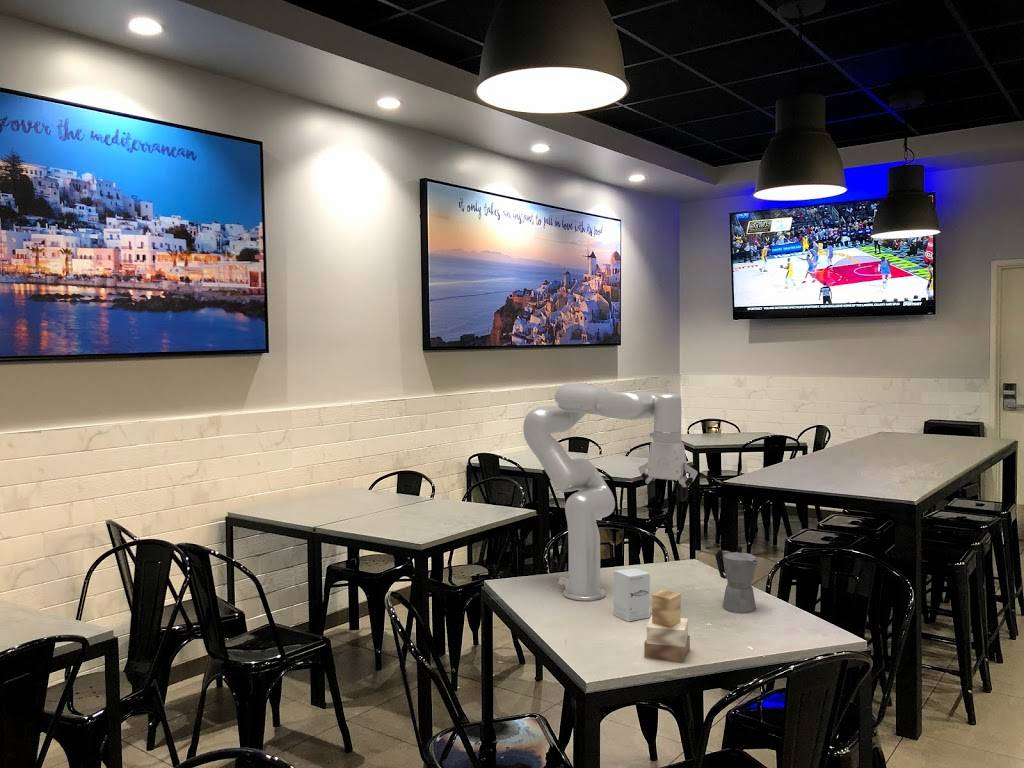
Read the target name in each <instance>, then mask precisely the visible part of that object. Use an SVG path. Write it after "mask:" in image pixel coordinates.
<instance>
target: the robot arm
mask: <svg viewBox="0 0 1024 768" xmlns="http://www.w3.org/2000/svg"><path fill="white" fill-rule="evenodd" d="M554 401H555V404H556V405H550V406H549V405H548V406H540V407H536V408H534V409H532V410H530V411H529V412H528V413H527V414H526V416H525V418H524V421H523V427H522V430H523V435H524V436H523V437H524V439H525V441H526V444H527V445H528V447H529V449H530V450H531V452H533V454H534V455H535V457H536V458H537V460H538V461H539V463H540V465H541V466H542V468H543V470H544V472H545V474H547V476H548V478H549V479H550V481H551V483H552V484H553V486H554V487H555V489H556V490H558V491H560V492H561V493H569V492H574V491H576V492H574V493H572V494H571V495H569V497H568V498H567V499H566V502H565V505H564V506H565V507H564V510H565V511H564V513H565V518H566V522H567V533H568V537H567V538H568V540H567V541H568V542H567V543H568V578H567V577H564V576H559V578H558V582H557V583H558V585H560V586H564V587H565V588H564V589H563V594H562V595H563V596H564V597H566V598H567V599H570V600H574V601H585V602H586V601H589V602H591V601H597V600H600V599H603V598H604V597H606V590H605V589H604V588H602V587H601V535H600V530H599V527H598V524H597V521H598V520H599V519H600V520H601V519H603V518H606V517H608V516H610V515H611V514H613V513H614V510H615V508H616V501H615V497H614V495H613V492H612V490H611V489H610V487H609V486H608V484H607V482H606V481H605V480H604V477H602V475H601V473H600V471H599V470H598V469H597V468H596V466H595V465H594V464H593V463H592V462H591V461H589V460H587V459H585V458H571V457H570V456H569V454H568V452H566V449H565V448H564V447H563V445H562V444H561V443H560V442H559V441H558V440H557V439H556V438H555V437H553V435H551V434H556V433H562V432H563V433H564V432H567V431H569V430H570V429H572V428H573V427H574V426H575V425H576V424H578V422H579V421H580V420H581V419H583V418H584V416H586V415H587V414H588V415H597V416H600V417H606V418H609V419H610V418H611V419H619V420H626V421H628V420H630V421H635V420H642V419H651V418H653V431H652V432H649V438H652V439H653V440H652V441H651V442H650V445H649V451H648V458H647V460H648V461H647V463H645V464H642V465H640V466H639V467H638V471H639V473H640V474H641V478H642V479H643V480H644V481H645V483H646V494H647V498H648V499H651V498H655V497H656V483H655V482H654V481H655V480H656V479H659V480H668V481H678V482H679V484H680V485H681V486H680V487H679V488H680V489H679V501H680V502H686V501H688V498H689V486H691V484H692V483H693V482H694V481H695V479H696V478H697V475H698V471H697V470H696V469H694V468H693V467H691V466H690V465H688V464H687V457H686V449H685V445H684V443H683V442H682V397H681V395H680V394H678V393H672V392H670V393H669V392H665V393H664V392H663V393H662V392H661V393H659V392H654V391H640V392H639V391H638V392H636V391H635V392H619V391H611V390H609V389H608V388H607V387H606V386H603V385H591V384H589V383H586V382H572V383H565V384H563V385H561V386H559V387H558V388H557V390H556V391H555V393H554ZM646 469H647V470H646ZM687 473H689V477H688V478H687Z"/></svg>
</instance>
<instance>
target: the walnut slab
mask: <svg viewBox="0 0 1024 768" xmlns="http://www.w3.org/2000/svg"><path fill="white" fill-rule="evenodd" d="M690 639H691V637H690V635H689V634H688V637H687V641H686V645H685V647H679V646H668V645H657V644H647V639H646V640H645V641H644V645H643V647H644V650H643V651H644V652H643V653H644V654H643V655H644V658H645V659H653V660H658V661H666V662H673V663H678V664H682V663H683V662H684V660H685V659H686V657H687V656H688V654H689V652H690V651H691V646H690V645H691V640H690Z"/></svg>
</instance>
